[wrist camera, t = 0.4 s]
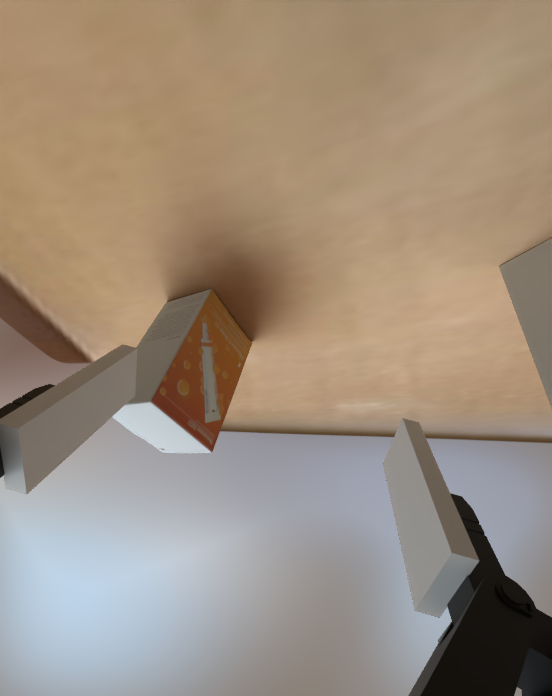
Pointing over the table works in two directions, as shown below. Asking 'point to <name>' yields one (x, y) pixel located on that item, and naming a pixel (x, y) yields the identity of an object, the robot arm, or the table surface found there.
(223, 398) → the small box
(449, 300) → the table surface
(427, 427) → the table surface
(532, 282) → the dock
